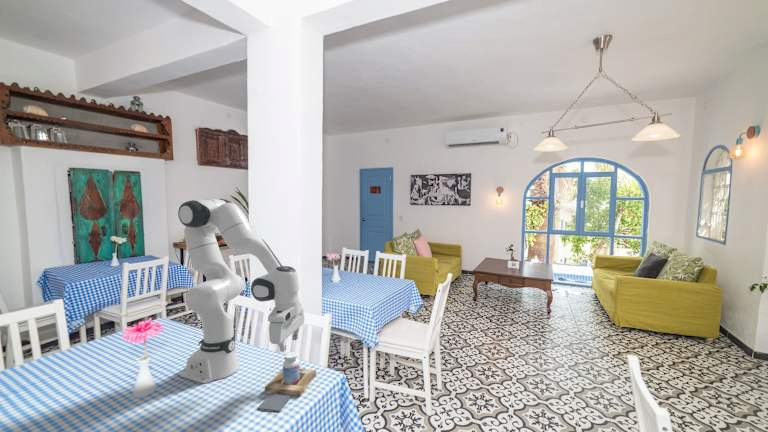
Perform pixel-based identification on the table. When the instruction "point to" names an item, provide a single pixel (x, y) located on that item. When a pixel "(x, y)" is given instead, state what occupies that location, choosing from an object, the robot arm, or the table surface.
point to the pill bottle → (291, 369)
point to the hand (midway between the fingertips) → (289, 344)
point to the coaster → (274, 402)
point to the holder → (287, 389)
